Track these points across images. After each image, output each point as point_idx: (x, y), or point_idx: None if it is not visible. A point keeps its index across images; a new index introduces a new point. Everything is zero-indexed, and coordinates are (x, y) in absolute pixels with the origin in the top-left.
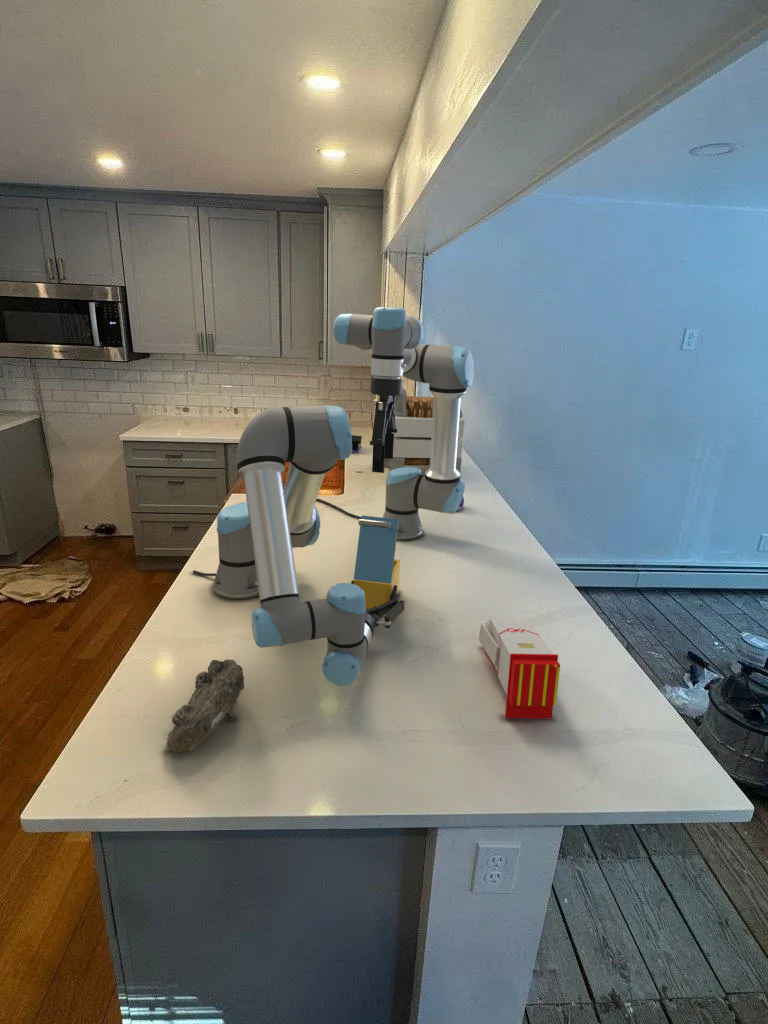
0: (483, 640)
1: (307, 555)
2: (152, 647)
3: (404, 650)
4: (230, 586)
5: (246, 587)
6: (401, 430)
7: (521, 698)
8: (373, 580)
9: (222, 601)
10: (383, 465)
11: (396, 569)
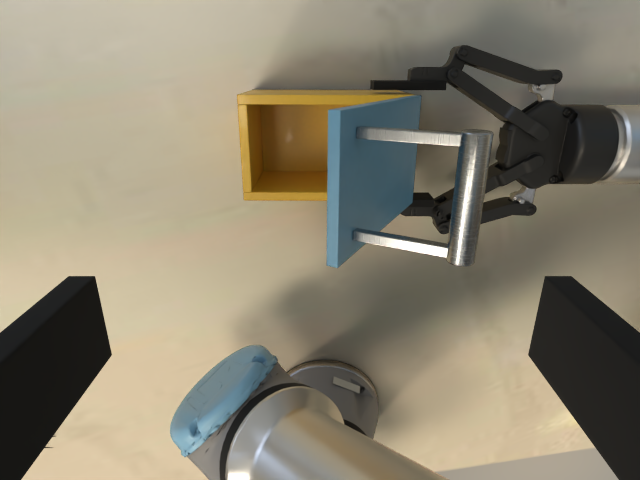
0: None
1: (140, 337)
2: (539, 442)
3: (522, 31)
4: (376, 422)
5: (368, 397)
6: None
7: None
8: (416, 148)
9: (386, 412)
10: (611, 310)
11: (309, 95)
